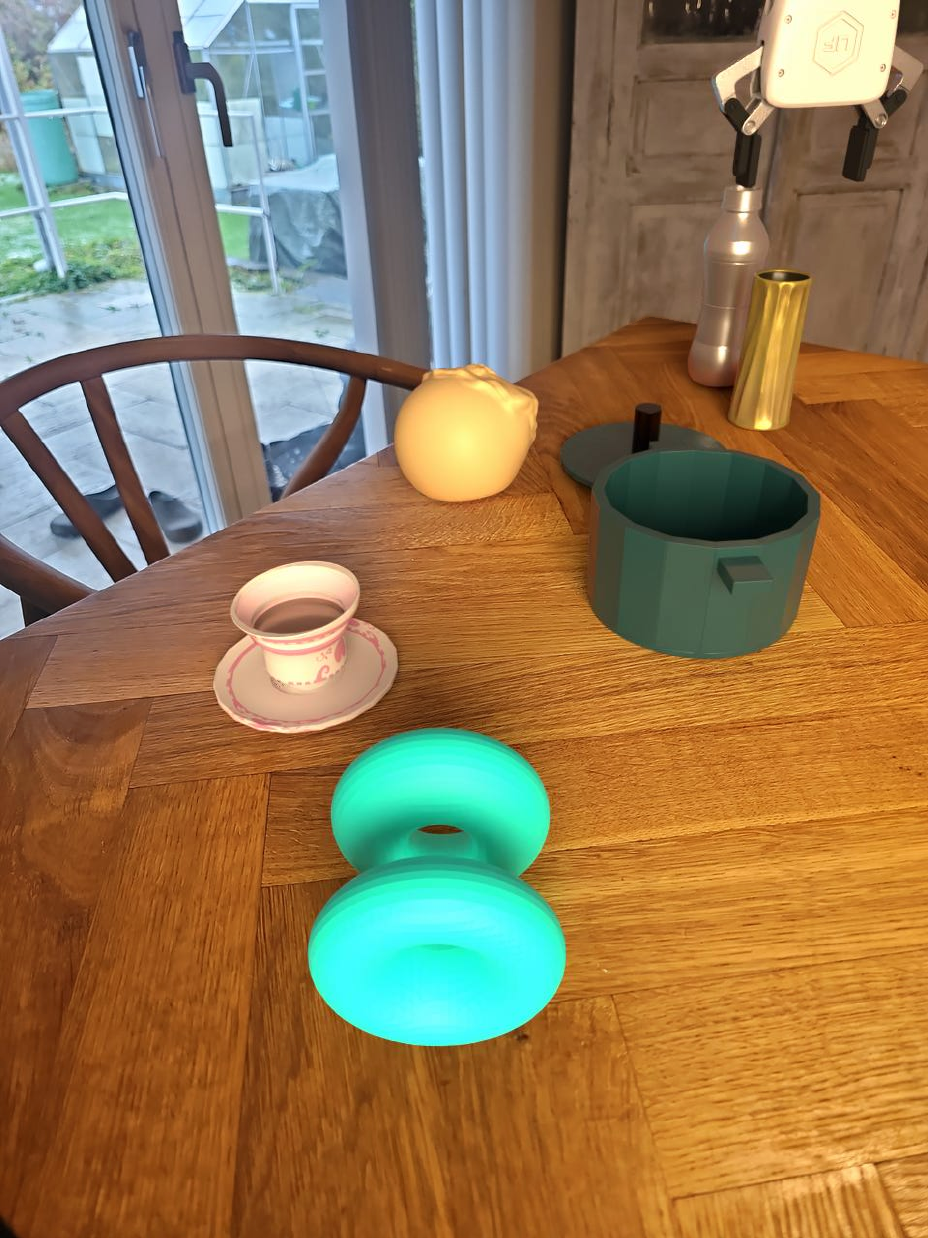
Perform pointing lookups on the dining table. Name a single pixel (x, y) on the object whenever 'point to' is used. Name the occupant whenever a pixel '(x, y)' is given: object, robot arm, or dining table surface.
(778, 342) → the vase
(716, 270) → the plastic bottle
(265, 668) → the teacup
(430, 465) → the sculpture
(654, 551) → the pot
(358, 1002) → the turquoise spool
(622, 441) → the pot lid
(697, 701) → the dining table surface
